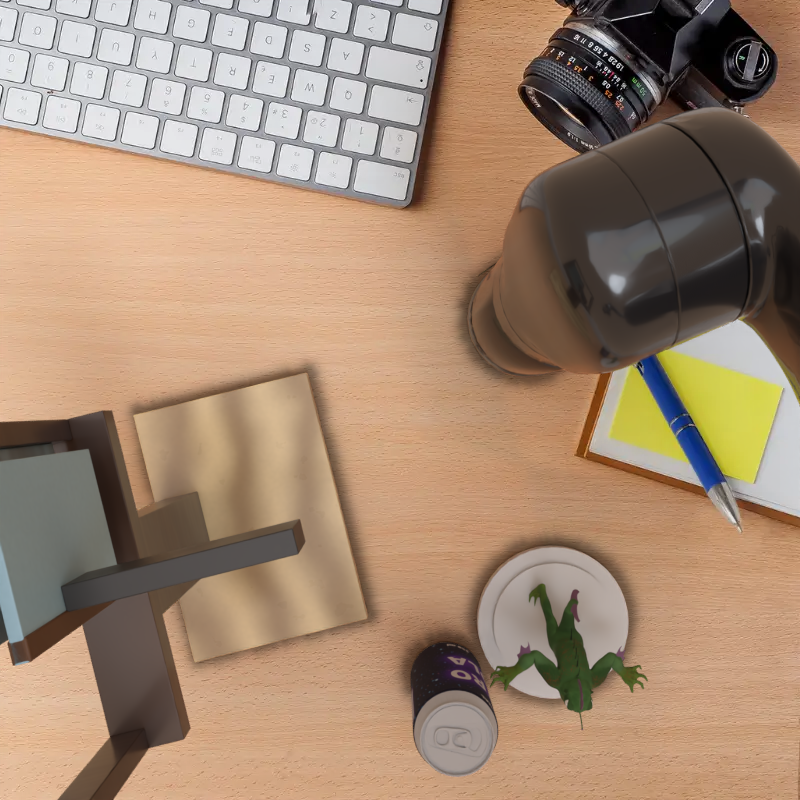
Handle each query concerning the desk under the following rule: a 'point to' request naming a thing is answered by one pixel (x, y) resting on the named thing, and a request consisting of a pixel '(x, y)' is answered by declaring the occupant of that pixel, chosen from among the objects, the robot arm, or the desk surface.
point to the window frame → (122, 602)
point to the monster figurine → (555, 625)
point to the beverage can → (451, 710)
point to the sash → (91, 552)
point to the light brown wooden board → (257, 512)
